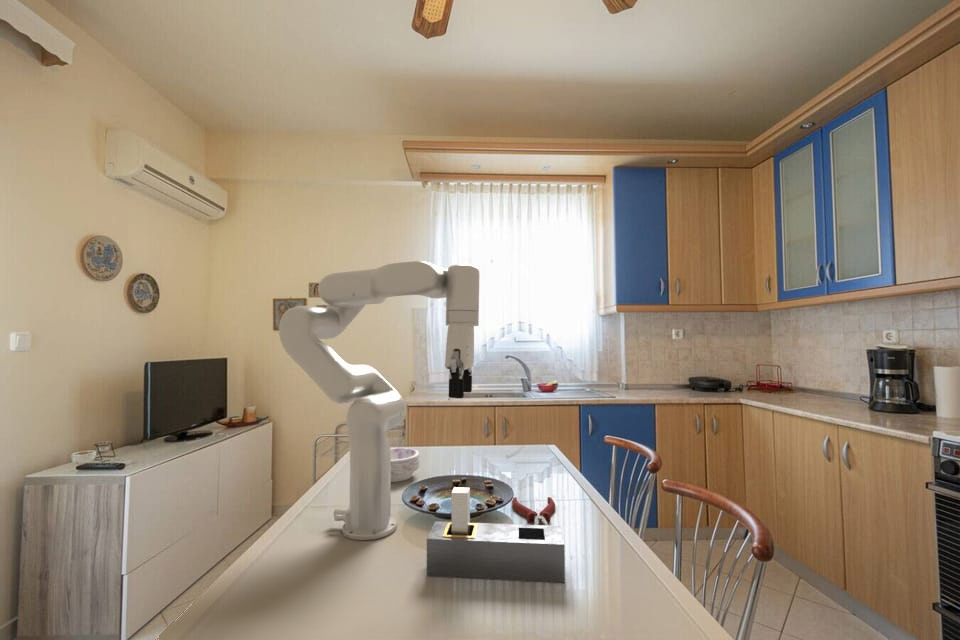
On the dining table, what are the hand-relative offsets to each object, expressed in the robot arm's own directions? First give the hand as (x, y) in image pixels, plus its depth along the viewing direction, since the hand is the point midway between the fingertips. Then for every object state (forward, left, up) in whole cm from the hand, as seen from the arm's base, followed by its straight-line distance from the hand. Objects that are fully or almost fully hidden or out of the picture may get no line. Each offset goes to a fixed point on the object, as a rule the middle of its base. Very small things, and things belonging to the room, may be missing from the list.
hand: (460, 394), depth 98 cm
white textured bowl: (-28, +42, -33) cm, 60 cm away
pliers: (+16, +15, -33) cm, 40 cm away
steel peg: (+2, -11, -31) cm, 32 cm away
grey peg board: (+8, -11, -33) cm, 35 cm away
